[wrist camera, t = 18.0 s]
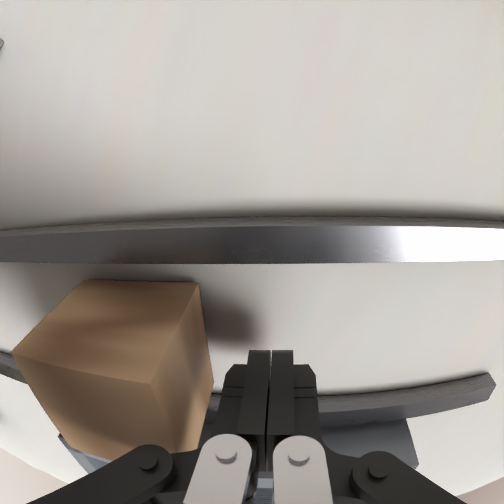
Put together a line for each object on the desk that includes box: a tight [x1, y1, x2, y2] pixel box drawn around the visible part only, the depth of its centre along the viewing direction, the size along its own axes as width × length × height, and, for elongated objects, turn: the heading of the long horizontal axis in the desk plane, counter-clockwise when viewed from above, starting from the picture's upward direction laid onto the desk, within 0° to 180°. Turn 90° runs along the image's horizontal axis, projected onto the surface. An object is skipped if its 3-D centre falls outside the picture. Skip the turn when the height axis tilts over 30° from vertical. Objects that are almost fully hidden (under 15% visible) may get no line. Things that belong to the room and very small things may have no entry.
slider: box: [11, 279, 214, 461], centre depth 10 cm, size 6×5×5 cm
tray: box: [58, 419, 419, 488], centre depth 15 cm, size 18×11×4 cm, turn 92°
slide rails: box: [0, 216, 504, 427], centre depth 12 cm, size 30×10×1 cm, turn 92°
